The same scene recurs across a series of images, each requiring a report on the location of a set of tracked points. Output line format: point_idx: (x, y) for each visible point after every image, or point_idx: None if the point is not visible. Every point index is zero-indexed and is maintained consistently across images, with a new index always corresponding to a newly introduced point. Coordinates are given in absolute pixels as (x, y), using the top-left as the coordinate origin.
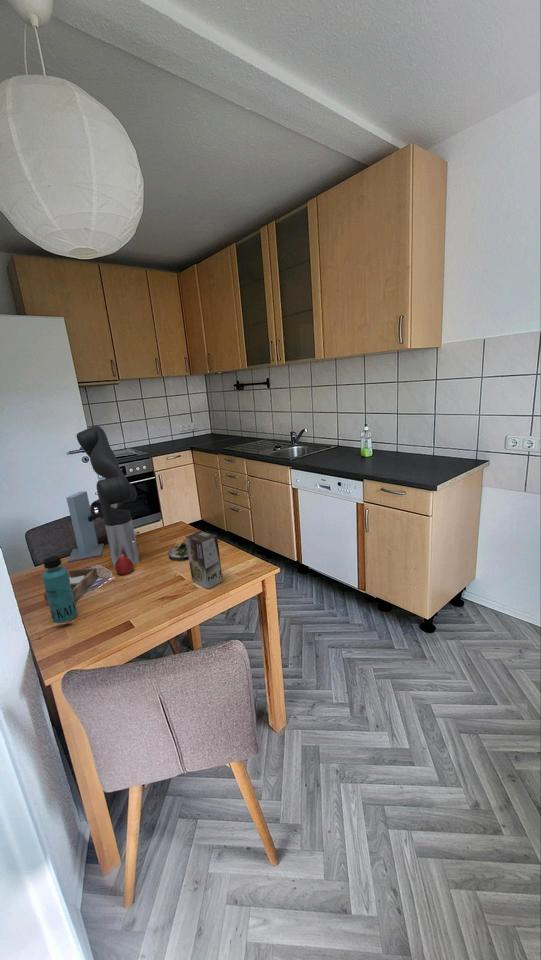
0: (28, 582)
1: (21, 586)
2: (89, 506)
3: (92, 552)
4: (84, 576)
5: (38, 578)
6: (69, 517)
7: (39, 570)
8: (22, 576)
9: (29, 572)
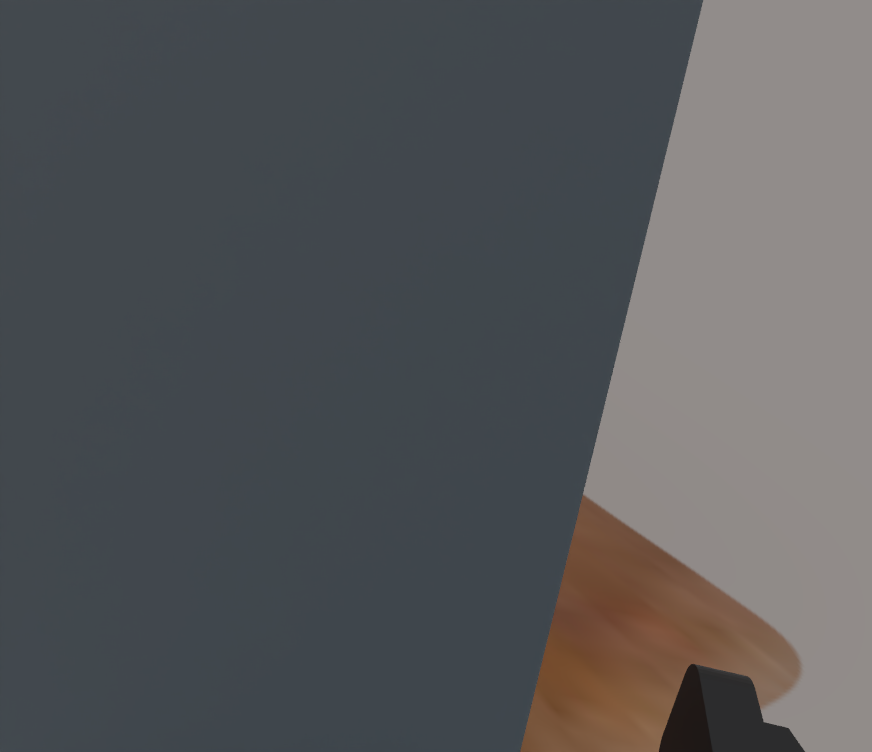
0: (601, 540)
1: (607, 512)
2: (23, 742)
3: None
4: None
5: (569, 570)
6: (734, 673)
7: (680, 685)
8: (739, 621)
9: (746, 670)
